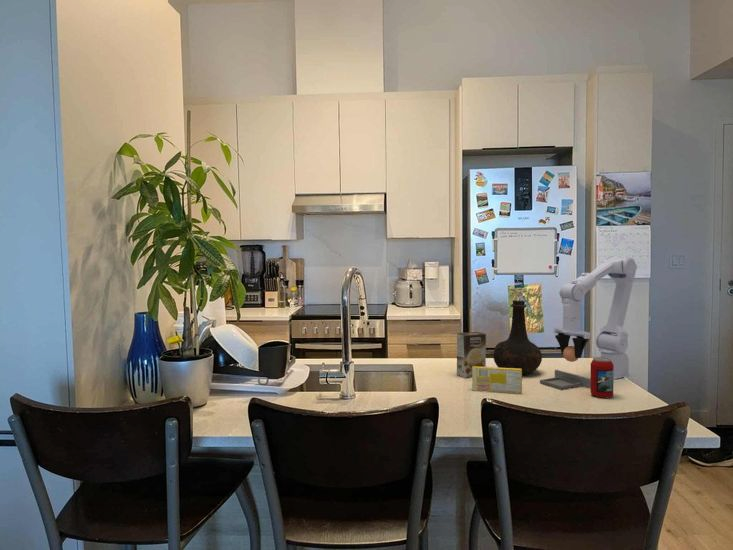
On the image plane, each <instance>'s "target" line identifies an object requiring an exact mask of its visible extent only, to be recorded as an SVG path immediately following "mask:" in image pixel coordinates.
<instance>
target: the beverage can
mask: <svg viewBox="0 0 733 550" xmlns="http://www.w3.org/2000/svg"><path fill="white" fill-rule="evenodd" d="M589 378H590V388H589V390H590V394H591V395H593V396H594V397H595V396H596V398H599V397H602V398H601V399H608V398H607V397H609V398H611V397H613V395H614V383H615V382H614V380H615V379H614V365H613V363H612V361H611V359H609V358H603V357H601V356H599V357H593V358H592V360H591V361H590V377H589Z"/></svg>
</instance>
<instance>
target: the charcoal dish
mask: <svg viewBox="0 0 733 550" xmlns="http://www.w3.org/2000/svg"><path fill="white" fill-rule="evenodd" d="M540 383H541V385H544V386H547V385H548V387H550V386H551V388H553V387H554V389H557V390H560V389H561V390H560V391H564V389H565V390H570V389H569V388H571V389H574V387H576V388H580V387H579V386H581V383H579V382H575V381H572V380H568V379H565V378H561V377H555V376H554V377H551V378H549V377H548V378H544V379H539V384H540ZM581 387H582V386H581Z"/></svg>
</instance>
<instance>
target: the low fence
mask: <svg viewBox="0 0 733 550" xmlns="http://www.w3.org/2000/svg"><path fill="white" fill-rule="evenodd" d="M555 377H561V378H565V379H568V380H572V381H575V382H579V383H581V385H582V386H581V387H584V386H586V387H585V388H587V387H589V388H588V389H590V377H587V376H586V377H585V376H581V375H577V374H575V373H571V372H567V371H562V370H560V369H554V378H555Z"/></svg>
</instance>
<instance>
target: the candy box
mask: <svg viewBox="0 0 733 550" xmlns="http://www.w3.org/2000/svg"><path fill="white" fill-rule="evenodd" d="M471 382H472V383H471V389H472V390H471V391H473V392H483V391H487V392H486V393H499V394H512V395H513V394H515V395H523V375H522V369H517V368H498V366H497V367H496V366H495V367H491V366H486V367H477V366H473V367H472V377H471Z"/></svg>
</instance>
